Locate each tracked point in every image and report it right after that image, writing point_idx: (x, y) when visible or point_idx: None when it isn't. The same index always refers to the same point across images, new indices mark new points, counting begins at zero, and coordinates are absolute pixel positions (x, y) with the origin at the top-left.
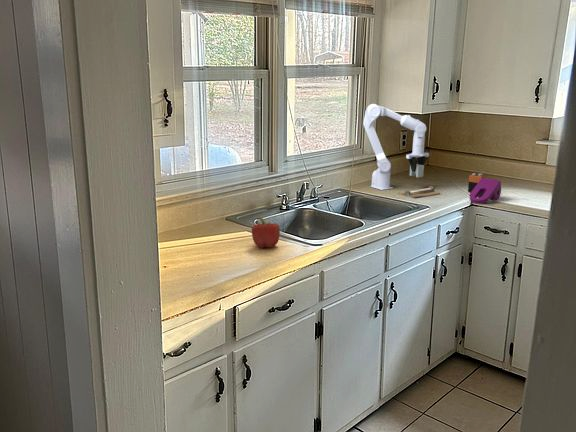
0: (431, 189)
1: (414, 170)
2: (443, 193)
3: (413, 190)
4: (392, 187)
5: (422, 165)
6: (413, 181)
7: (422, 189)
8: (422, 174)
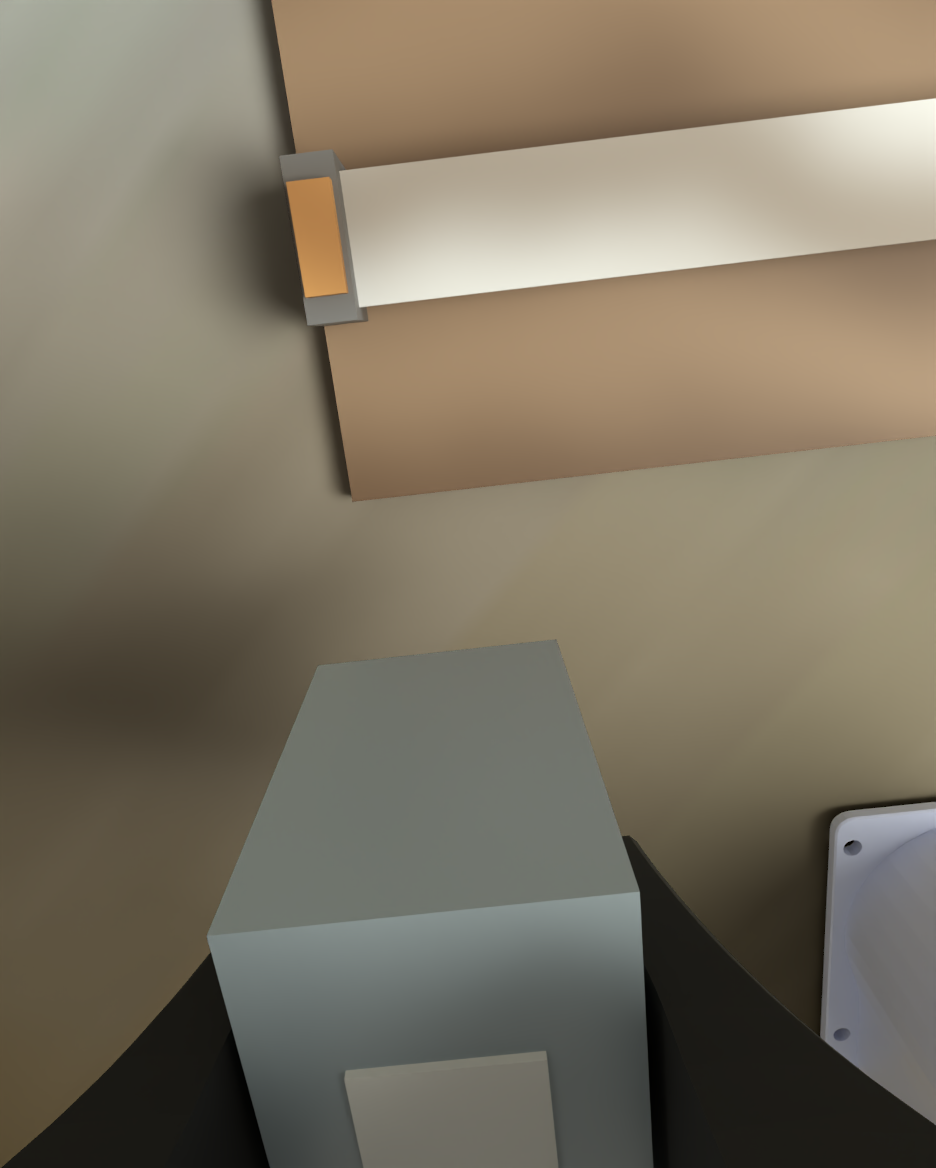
0: (388, 168)
1: (652, 868)
2: (133, 9)
3: (911, 239)
4: (843, 833)
5: (325, 930)
6: None
7: (627, 239)
8: (349, 693)
